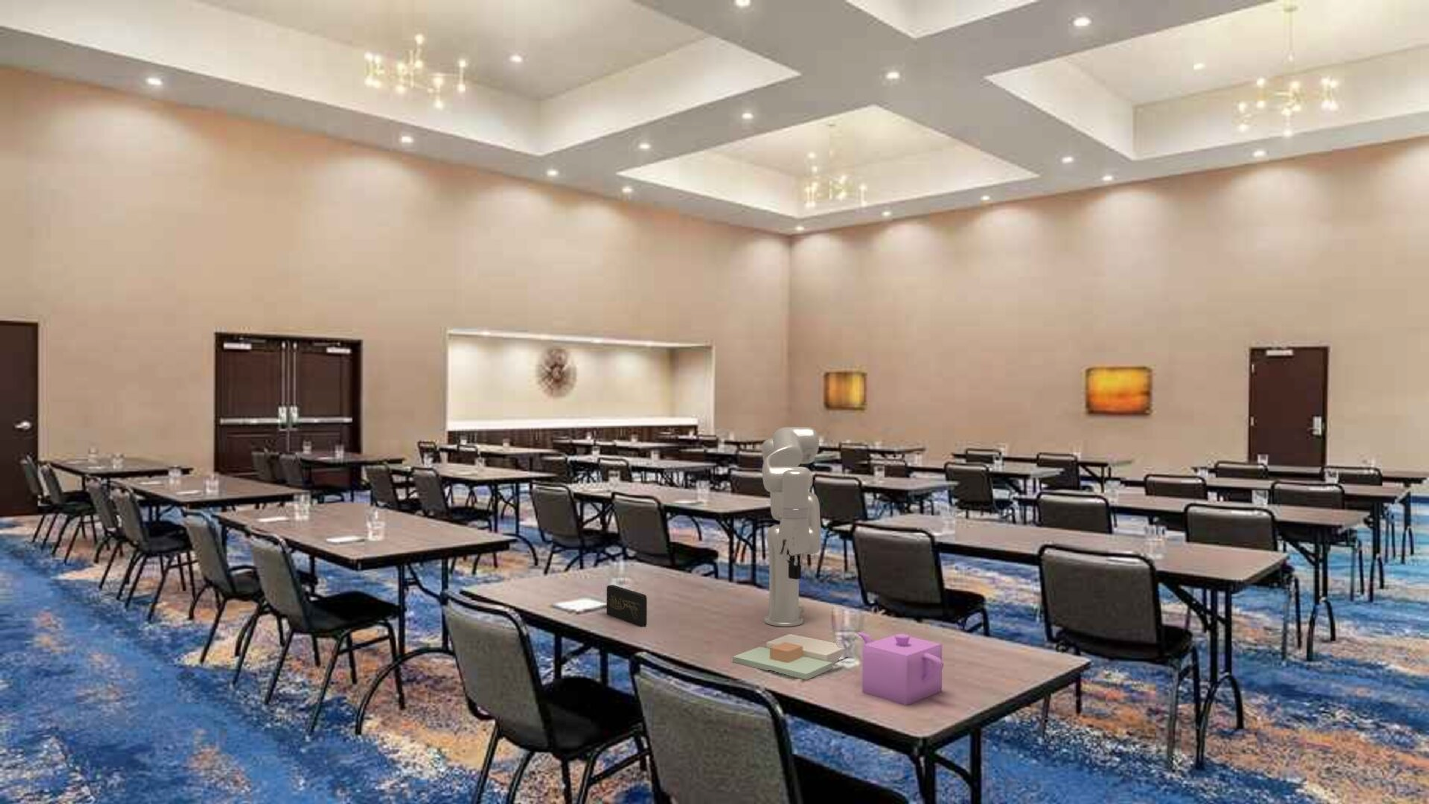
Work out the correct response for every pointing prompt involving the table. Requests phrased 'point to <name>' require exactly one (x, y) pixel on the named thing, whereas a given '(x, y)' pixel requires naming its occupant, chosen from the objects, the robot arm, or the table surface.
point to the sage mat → (783, 663)
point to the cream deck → (811, 647)
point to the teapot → (901, 668)
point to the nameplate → (627, 605)
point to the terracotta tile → (786, 652)
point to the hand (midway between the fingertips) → (794, 578)
